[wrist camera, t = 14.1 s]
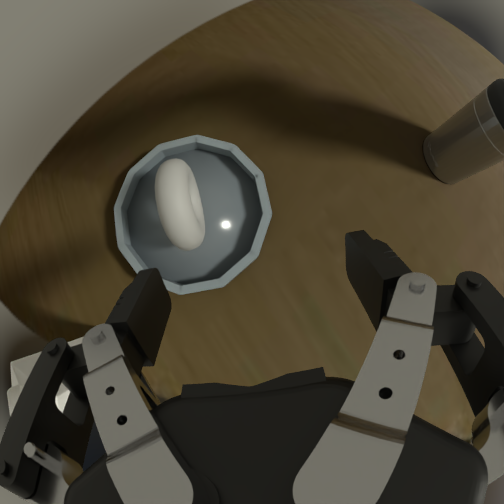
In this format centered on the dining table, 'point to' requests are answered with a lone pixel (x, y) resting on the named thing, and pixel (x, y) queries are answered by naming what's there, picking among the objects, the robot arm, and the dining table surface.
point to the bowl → (214, 209)
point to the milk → (22, 372)
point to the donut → (179, 204)
